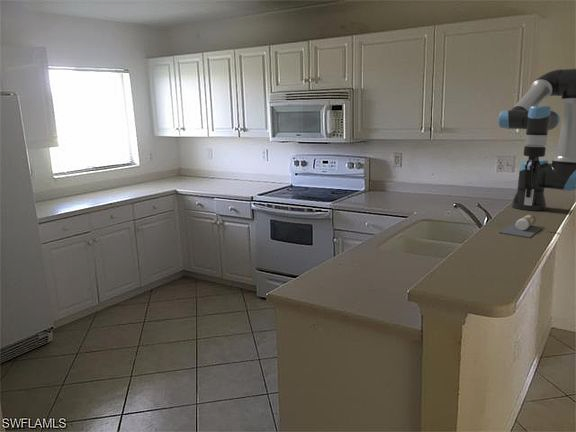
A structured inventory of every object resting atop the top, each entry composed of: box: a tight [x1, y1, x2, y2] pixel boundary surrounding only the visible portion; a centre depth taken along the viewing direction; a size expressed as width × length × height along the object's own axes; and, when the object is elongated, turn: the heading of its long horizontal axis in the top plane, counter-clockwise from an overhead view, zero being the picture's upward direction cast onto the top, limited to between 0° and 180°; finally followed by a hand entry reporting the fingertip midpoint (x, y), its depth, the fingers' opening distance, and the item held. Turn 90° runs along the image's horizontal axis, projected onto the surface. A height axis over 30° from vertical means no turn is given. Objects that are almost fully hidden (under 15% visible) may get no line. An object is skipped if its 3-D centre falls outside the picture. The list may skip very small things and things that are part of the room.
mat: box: [498, 222, 544, 239], centre depth 191 cm, size 20×11×1 cm, turn 140°
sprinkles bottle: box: [515, 214, 537, 231], centre depth 194 cm, size 5×5×14 cm
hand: (527, 204), depth 193 cm, fingers closed
